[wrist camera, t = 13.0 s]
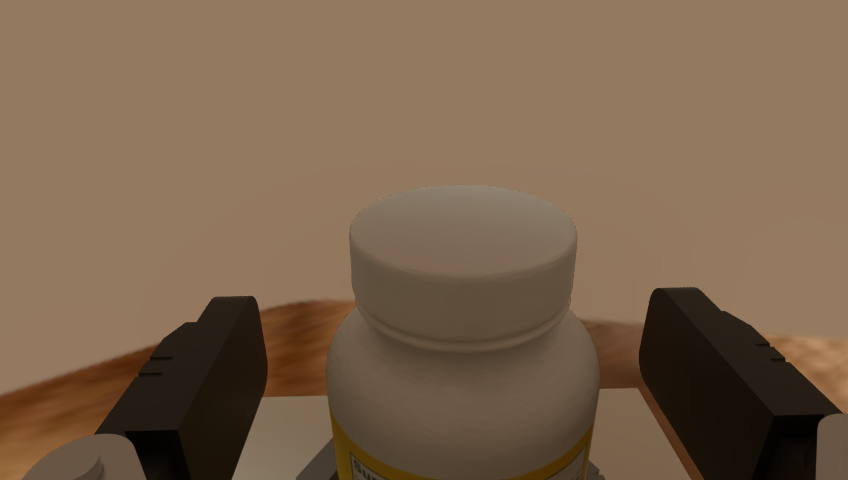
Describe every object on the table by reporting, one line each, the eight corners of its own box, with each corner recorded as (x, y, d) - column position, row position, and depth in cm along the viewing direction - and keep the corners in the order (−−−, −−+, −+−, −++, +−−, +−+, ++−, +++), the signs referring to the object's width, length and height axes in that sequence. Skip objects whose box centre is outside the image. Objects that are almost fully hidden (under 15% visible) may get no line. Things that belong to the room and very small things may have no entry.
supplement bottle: (405, 460, 16) (394, 162, 12) (580, 518, 15) (636, 189, 10) (307, 635, 12) (238, 258, 8) (542, 754, 10) (615, 337, 6)
